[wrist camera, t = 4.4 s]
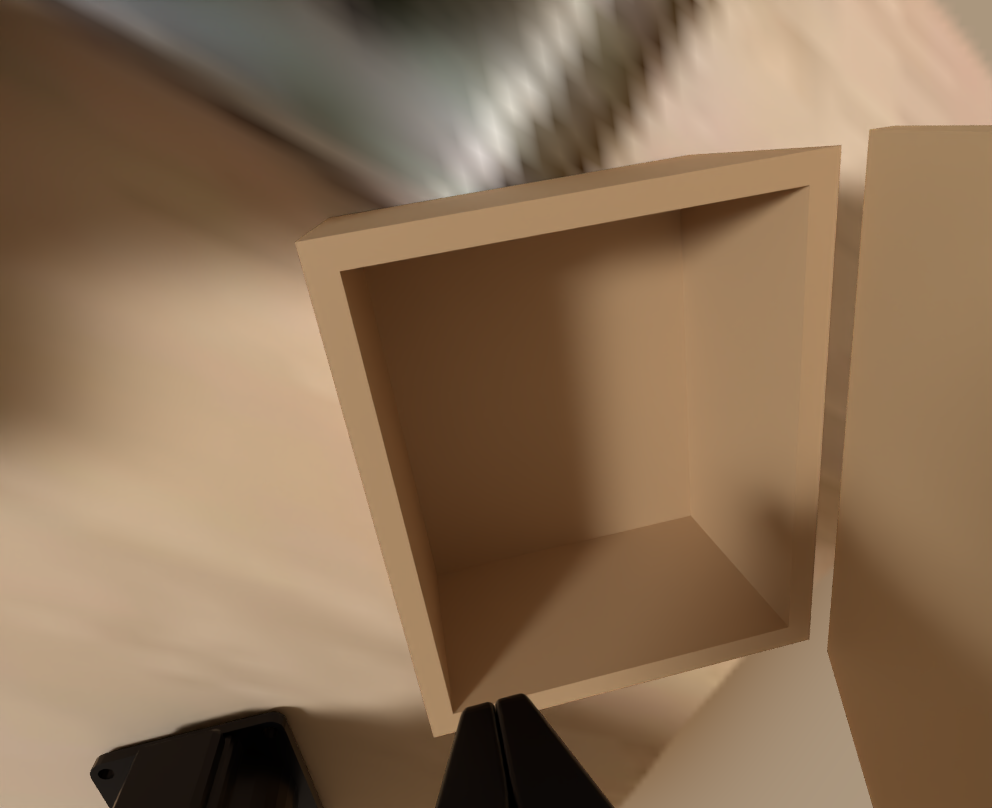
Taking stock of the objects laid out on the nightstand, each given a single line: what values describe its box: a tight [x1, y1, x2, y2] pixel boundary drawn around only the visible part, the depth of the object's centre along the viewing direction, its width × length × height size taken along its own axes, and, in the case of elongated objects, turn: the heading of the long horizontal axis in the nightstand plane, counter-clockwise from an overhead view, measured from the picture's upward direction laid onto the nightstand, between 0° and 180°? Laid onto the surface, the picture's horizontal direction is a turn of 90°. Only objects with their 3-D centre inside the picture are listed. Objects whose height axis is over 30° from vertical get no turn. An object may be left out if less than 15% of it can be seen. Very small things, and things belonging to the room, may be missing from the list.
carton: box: [295, 145, 841, 738], centre depth 15 cm, size 12×10×6 cm
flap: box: [827, 125, 992, 808], centre depth 8 cm, size 12×10×1 cm
